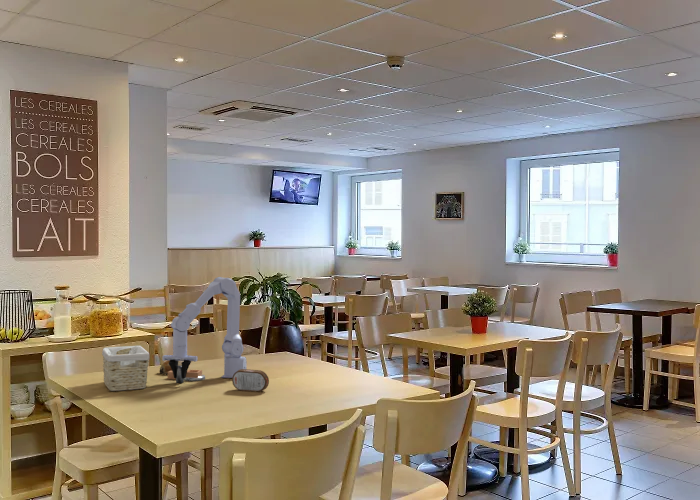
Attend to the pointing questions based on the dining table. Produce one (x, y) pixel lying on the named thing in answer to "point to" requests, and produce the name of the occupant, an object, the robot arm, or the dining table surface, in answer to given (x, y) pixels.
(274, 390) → the dining table surface
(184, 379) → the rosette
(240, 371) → the tin
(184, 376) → the robot arm
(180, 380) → the pin
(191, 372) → the bracket
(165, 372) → the bread roll
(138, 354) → the storage basket
